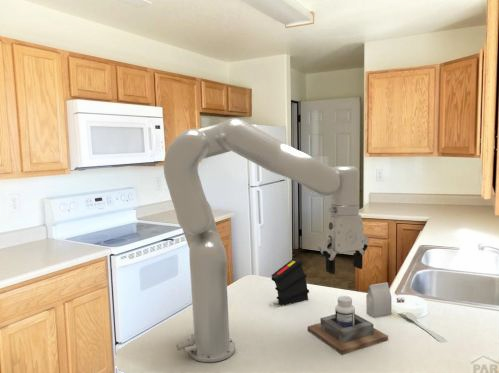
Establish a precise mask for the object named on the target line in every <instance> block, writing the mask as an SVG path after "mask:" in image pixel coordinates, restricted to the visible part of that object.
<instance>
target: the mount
mask: <svg viewBox="0 0 499 373" xmlns="http://www.w3.org/2000/svg"><path fill="white" fill-rule="evenodd" d="M307 331H308V332H309V333H311V334H312V335H314V336H315V337H317V338H318V339H319V340H321V341H322V342H323V343H325V344H326V345H328V346H329V347H330V348H332V349H334V350H335V351H336V352H337V353H339V354H341V355H342V356H343V355H346V354H349V353H352V352H355V351H358V350H361V349H364V348H367V347H371V346H374V345H376V344H377V345H378V344H379V343H384V342H386V341H388V340H389V336H388V335H387V334H385V333H383V332H382V331H380V330H379V329H376V328H375V327H374V323H372V322H371V321H369V320H367V319H365V318H363V317H361V316H360V315H358V314H356V313H355V325H354V326H350V327H347V328H344V327H342V326H340V325H339V324H337V323H336V313H335V314H331V315H328V316H324V317H320V322H318V323H314V324H311V325H308V326H307Z"/></svg>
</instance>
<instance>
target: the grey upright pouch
mask: <svg viewBox="0 0 499 373" xmlns="http://www.w3.org/2000/svg"><path fill="white" fill-rule="evenodd" d="M368 286H369V287H368V290H367V294H366V296H365V297H366V315H368V316H369V317H370V318H372V319H377V318H381V317H386V316H391V315H392V294H391V289H390V287H389V282H387V281H386V282H381V283H375V284H370V285H368Z"/></svg>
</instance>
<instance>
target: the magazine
mask: <svg viewBox="0 0 499 373" xmlns="http://www.w3.org/2000/svg"><path fill="white" fill-rule="evenodd" d="M302 265H303V263H302V262H301V261H300V259H297V258H295V257H293V258H292V259H291V260H289V261H288V262H286V264H284V265H283V266H281V267H280V268H279V269H278V270H277V271H275V272H274V273H273V274H271V275H270V276H271V281H273V282H274V284H275V290H276V291H277V296H276V300H277V301H278V304H279V305H281V306H286V305H290V304H294V303H298V302H299V303H300V302H303V301H306V300H308V297H309V295H308V294H310V289H308V284H307V279H306V278H307V277H308V276H307V274H306V273H305V272H304V269H303V266H302Z"/></svg>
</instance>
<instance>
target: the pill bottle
mask: <svg viewBox="0 0 499 373" xmlns="http://www.w3.org/2000/svg"><path fill="white" fill-rule="evenodd" d="M355 309H356V308H355V306H354V305H353V298H352V297H350V296H347V295H340V296H338V297H337V304H336V306H335V311H334V312H335V314H336V323H337V324H339V325H340V326H342V327H344V328H347V327H350V326H354V325H355V314H356V312H355V311H356V310H355Z"/></svg>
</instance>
